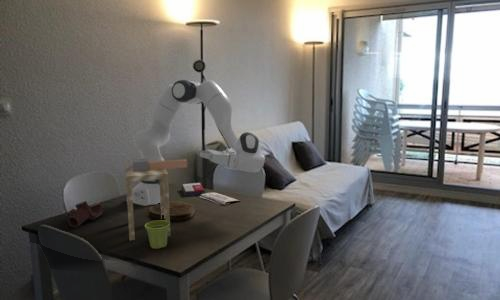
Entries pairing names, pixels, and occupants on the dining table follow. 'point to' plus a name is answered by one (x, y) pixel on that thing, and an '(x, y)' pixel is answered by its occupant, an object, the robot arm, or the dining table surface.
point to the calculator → (192, 189)
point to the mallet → (157, 164)
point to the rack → (164, 193)
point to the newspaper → (218, 198)
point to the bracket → (84, 213)
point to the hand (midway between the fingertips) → (198, 153)
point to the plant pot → (157, 233)
